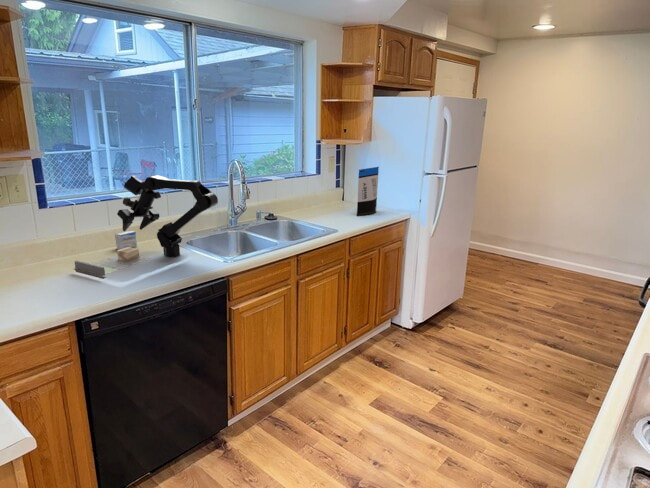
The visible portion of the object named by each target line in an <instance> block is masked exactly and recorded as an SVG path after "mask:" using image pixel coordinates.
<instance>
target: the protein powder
mask: <svg viewBox="0 0 650 488" xmlns="http://www.w3.org/2000/svg"><path fill="white" fill-rule="evenodd" d="M379 168H380V167H379V166H376V167H367V168H361V169H358V182H357V206H356V217H364V216H365V217H366V216H372V215H375V214H376V213H377V201H378V200H377V199H378V187H379V186H378V184H379Z"/></svg>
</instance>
